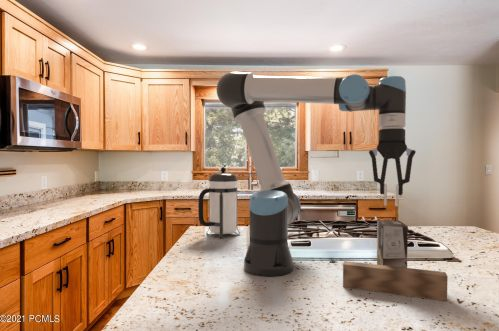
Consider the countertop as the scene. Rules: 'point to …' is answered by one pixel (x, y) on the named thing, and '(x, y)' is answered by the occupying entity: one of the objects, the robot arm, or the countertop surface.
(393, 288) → the board
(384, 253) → the coffee box
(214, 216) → the coffee press
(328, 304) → the countertop surface
